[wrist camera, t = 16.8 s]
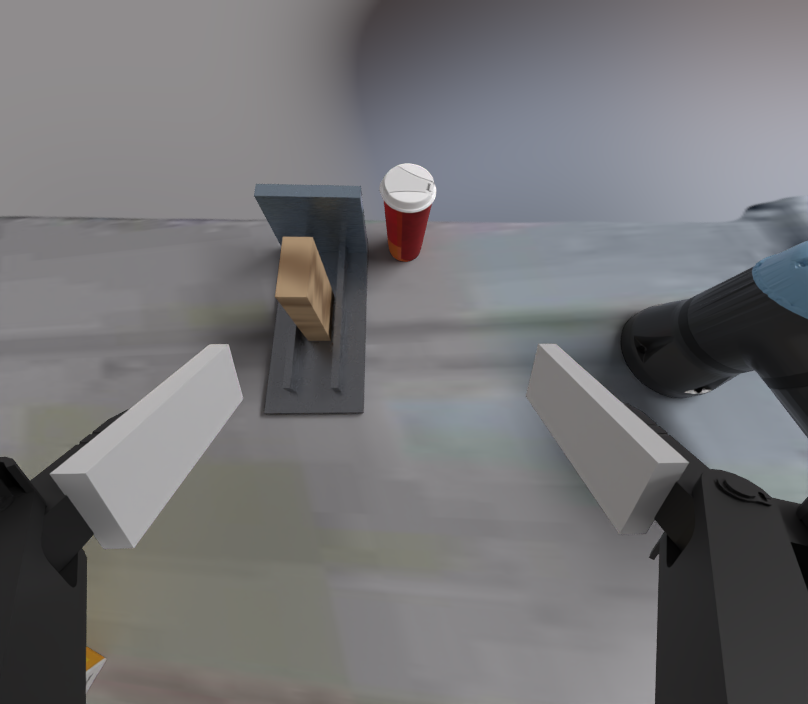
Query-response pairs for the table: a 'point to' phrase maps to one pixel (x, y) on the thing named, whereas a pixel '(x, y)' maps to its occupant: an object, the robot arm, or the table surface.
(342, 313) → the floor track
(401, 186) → the paper cup
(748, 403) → the table surface
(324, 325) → the door panel
